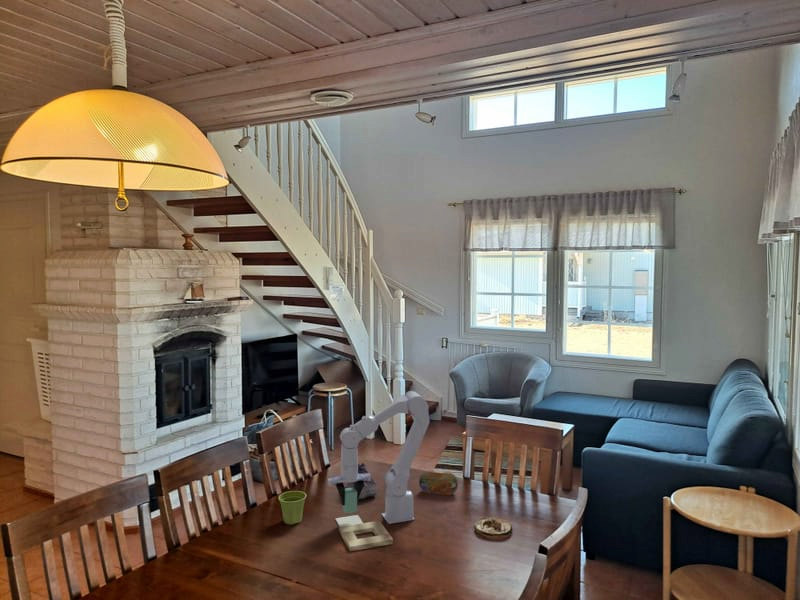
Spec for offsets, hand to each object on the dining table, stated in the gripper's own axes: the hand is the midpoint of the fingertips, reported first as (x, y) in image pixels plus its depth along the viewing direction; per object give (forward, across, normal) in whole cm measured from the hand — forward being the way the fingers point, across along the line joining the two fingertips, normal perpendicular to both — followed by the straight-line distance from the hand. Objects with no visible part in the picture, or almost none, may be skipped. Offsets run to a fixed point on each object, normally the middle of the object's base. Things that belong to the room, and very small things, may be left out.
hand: (349, 503), depth 190 cm
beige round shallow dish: (+7, -43, +22) cm, 49 cm away
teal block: (+2, 0, 0) cm, 2 cm away
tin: (+7, -39, -13) cm, 42 cm away
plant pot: (+7, +18, -8) cm, 21 cm away
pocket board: (+7, -2, +12) cm, 14 cm away
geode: (+7, -11, -25) cm, 28 cm away
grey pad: (+7, 0, 0) cm, 7 cm away
